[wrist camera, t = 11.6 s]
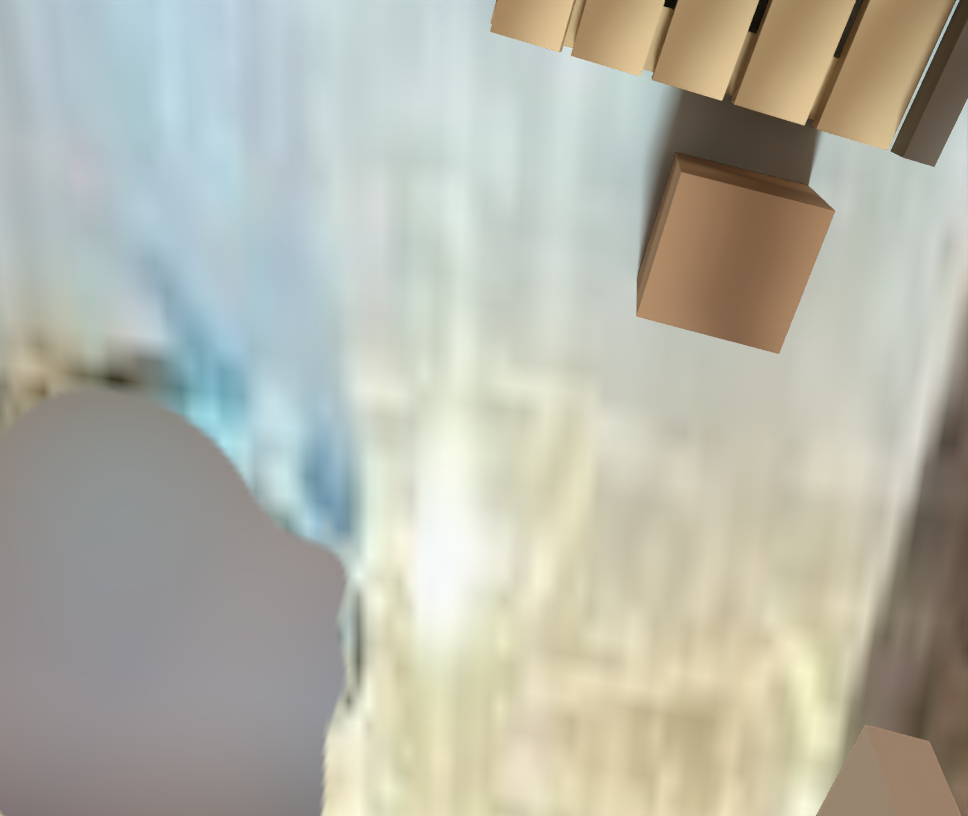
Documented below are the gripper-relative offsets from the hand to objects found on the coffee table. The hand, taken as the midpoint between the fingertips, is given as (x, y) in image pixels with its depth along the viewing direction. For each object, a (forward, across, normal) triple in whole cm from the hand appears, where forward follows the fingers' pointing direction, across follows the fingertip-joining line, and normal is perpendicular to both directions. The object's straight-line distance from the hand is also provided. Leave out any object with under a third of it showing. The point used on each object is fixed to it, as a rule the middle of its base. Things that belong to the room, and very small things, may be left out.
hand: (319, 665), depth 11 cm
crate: (+26, +7, +2) cm, 27 cm away
